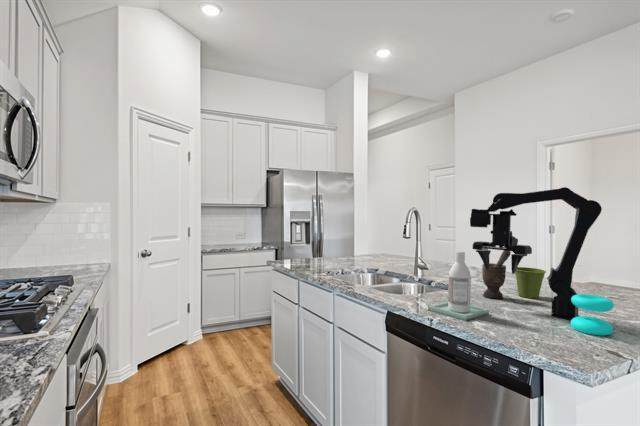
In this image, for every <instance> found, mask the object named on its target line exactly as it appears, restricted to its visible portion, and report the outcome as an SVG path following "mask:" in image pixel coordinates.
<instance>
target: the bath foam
mask: <svg viewBox="0 0 640 426" xmlns="http://www.w3.org/2000/svg"><path fill="white" fill-rule="evenodd" d="M465 256H466V252H465V251H462V250H461V251H460V250H459V251H458V250H457V251H455V262H454V264H453V265H452V266H451V268H450V270H449V273H448V297H447V302H448V309H449V310H451V311H453V312H459V313H467V312H469V311H470V305H471V286H472V284H471V283H472V282H471V281H472V278H471V277H472V275H471V272H470V269H469V267H468V266H467V264H466V262H465V261H466V259H465V258H466V257H465Z"/></svg>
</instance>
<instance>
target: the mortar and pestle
mask: <svg viewBox="0 0 640 426" xmlns="http://www.w3.org/2000/svg"><path fill="white" fill-rule="evenodd" d="M511 254H512V251H505V250H502V252H501V255H500V256H499V258H498V261H497V262H496V263H493V262H492V263H490V262H489V270H486V267H485V265H484V263H482V265H481V267H482V273H481V275H482V280H483V284H484V285H485V286H486V290H484V291H483V294H482V296H483V297H484V298H486V299H487V298H489V299H497V300H502V299H504V295H503V293H502V292H501V290H500V288H501V287H503V286H504V283H505V280H506V273H507V266H506V265H504V264H505V262H506V261H507V260H508V259H509V257H511Z"/></svg>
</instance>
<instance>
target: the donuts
mask: <svg viewBox="0 0 640 426" xmlns="http://www.w3.org/2000/svg"><path fill="white" fill-rule="evenodd" d="M571 301H572V303H573V304H574V305H575V306H576V307H578V309H580V310H583V311H584V310H585V311H590V312H596V313H606V312H609V311H612V310H613V309H614V307H615V303H614V301H612V300H611V299H610V298H608V297H605V296H601V295H595V294H588V293H579V294H578V293H577V295H574V296H572V298H571ZM570 326H571V327H572V328H573V330H576V331H578V332H581V333H583V334H588V335H592V336H593V335H594V336H600V337H601V336H603V337H604V336H609V335H612V334H613V332H614V327H613V325H612V324H611V323H610V322H608V321H606V320H604V319H603V318H598V317H594V316H588V315H579V316H578V317H575V318H573V319H572V320H570Z"/></svg>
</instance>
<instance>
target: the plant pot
mask: <svg viewBox="0 0 640 426" xmlns="http://www.w3.org/2000/svg"><path fill="white" fill-rule="evenodd" d="M545 274H547V270H545V269H541V268H536V267H527V266H518V267H517V269H516V271H515V274H514V275H515V280H516V287H517V294H518V296H521V297H522V298H527V299H539V297H540V293H541V288H542V283H543V280H544V278H545Z"/></svg>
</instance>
